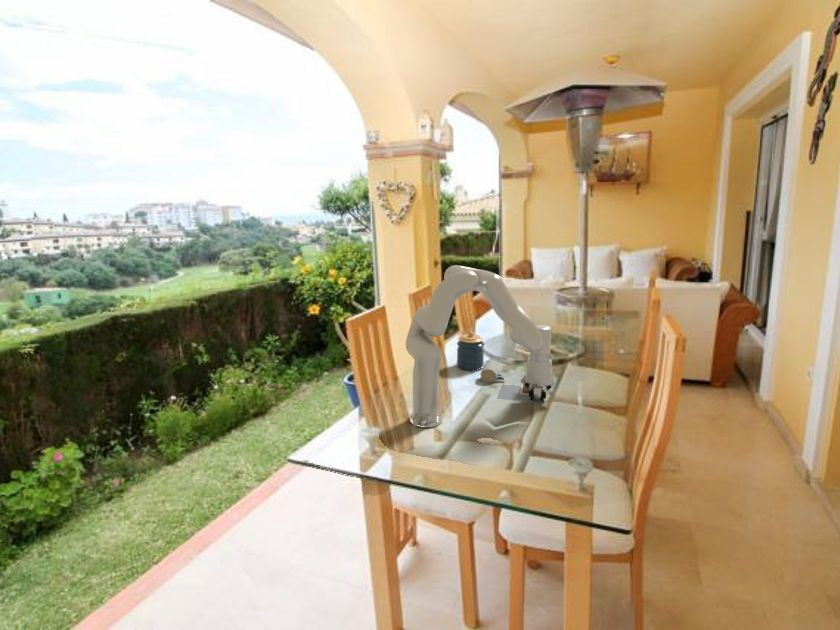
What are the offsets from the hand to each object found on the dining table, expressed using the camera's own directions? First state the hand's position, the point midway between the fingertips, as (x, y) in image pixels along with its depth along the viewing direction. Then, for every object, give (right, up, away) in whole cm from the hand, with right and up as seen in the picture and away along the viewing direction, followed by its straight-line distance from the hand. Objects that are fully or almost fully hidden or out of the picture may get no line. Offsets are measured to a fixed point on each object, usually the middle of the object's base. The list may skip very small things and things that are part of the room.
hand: (537, 398), depth 196 cm
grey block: (0, 0, 0) cm, 0 cm away
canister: (-23, +9, +40) cm, 47 cm away
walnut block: (0, +2, +9) cm, 9 cm away
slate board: (-5, +1, +8) cm, 9 cm away
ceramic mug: (-15, +4, +22) cm, 27 cm away
